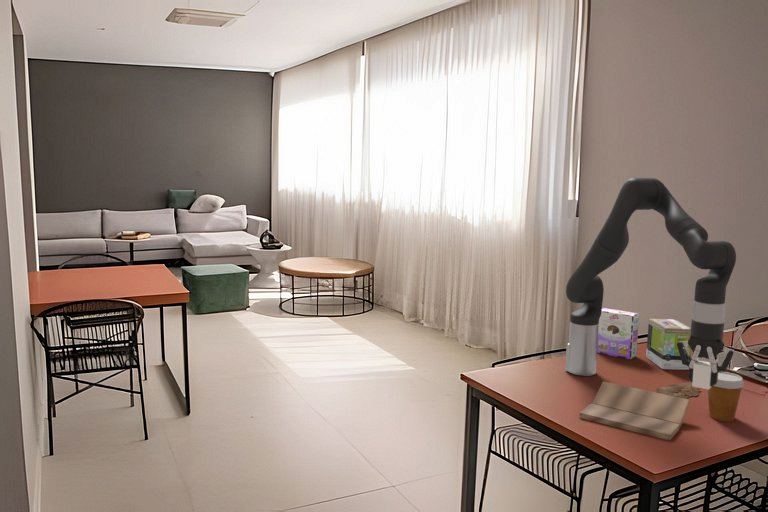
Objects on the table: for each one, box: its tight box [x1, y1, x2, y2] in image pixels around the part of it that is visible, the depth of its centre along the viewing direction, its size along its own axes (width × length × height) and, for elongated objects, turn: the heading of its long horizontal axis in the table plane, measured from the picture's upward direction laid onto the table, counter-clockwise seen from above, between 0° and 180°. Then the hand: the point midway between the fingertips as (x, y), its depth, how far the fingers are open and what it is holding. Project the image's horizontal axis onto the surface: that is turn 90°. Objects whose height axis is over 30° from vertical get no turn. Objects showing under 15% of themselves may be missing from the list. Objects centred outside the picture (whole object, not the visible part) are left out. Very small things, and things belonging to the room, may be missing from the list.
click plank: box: [592, 381, 690, 429], centre depth 189 cm, size 24×9×2 cm
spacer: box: [692, 359, 712, 391], centre depth 172 cm, size 4×4×6 cm
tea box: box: [645, 318, 692, 371], centre depth 236 cm, size 15×10×15 cm, turn 179°
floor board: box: [579, 403, 681, 441], centre depth 182 cm, size 24×10×2 cm, turn 52°
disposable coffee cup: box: [707, 371, 745, 422], centre depth 187 cm, size 10×10×12 cm
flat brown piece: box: [656, 381, 702, 400], centre depth 207 cm, size 26×11×1 cm, turn 133°
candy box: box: [597, 307, 640, 360], centre depth 246 cm, size 14×6×16 cm, turn 47°
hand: (702, 383), depth 173 cm, fingers closed on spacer, 4 cm apart
